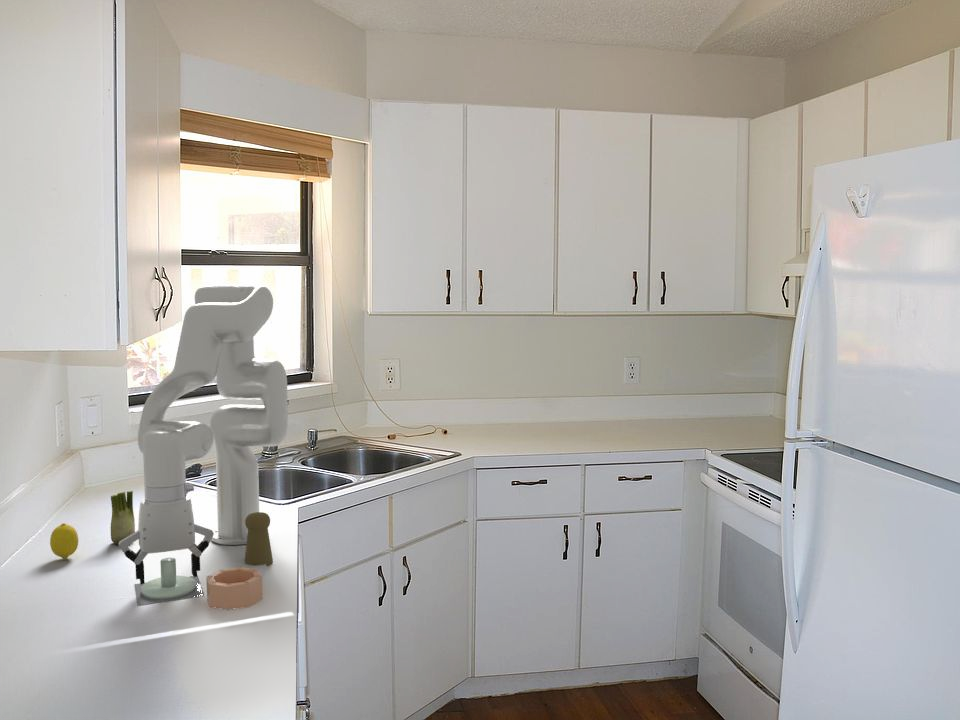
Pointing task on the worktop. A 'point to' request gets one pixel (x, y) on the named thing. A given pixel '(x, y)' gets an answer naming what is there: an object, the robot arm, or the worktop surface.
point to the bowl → (234, 588)
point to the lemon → (64, 541)
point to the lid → (168, 583)
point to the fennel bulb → (122, 516)
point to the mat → (145, 601)
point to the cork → (258, 540)
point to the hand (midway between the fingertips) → (168, 578)
